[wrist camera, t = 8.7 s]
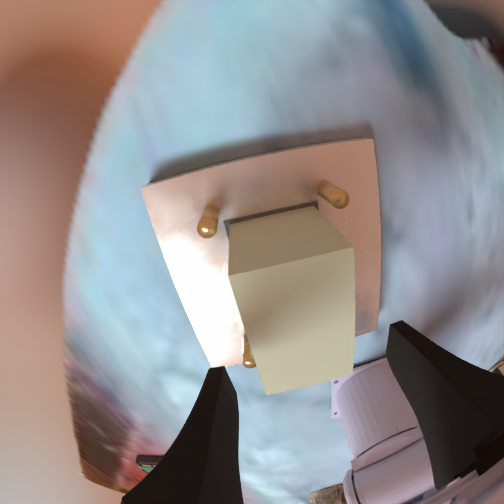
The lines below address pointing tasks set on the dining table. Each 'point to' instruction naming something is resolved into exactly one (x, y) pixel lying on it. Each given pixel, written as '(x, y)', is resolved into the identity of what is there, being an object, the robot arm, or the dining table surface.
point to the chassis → (258, 205)
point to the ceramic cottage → (329, 495)
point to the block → (294, 297)
